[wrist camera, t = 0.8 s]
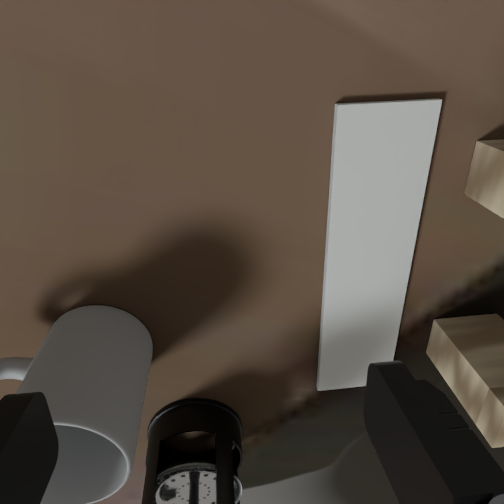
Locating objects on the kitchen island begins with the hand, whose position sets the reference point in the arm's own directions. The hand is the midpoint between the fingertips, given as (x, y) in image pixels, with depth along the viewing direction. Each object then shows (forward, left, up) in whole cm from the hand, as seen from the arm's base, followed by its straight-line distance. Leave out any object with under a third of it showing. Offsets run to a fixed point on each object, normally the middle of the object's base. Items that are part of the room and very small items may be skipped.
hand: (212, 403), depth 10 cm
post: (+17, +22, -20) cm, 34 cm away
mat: (+9, +12, -20) cm, 25 cm away
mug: (+14, -12, -20) cm, 27 cm away
